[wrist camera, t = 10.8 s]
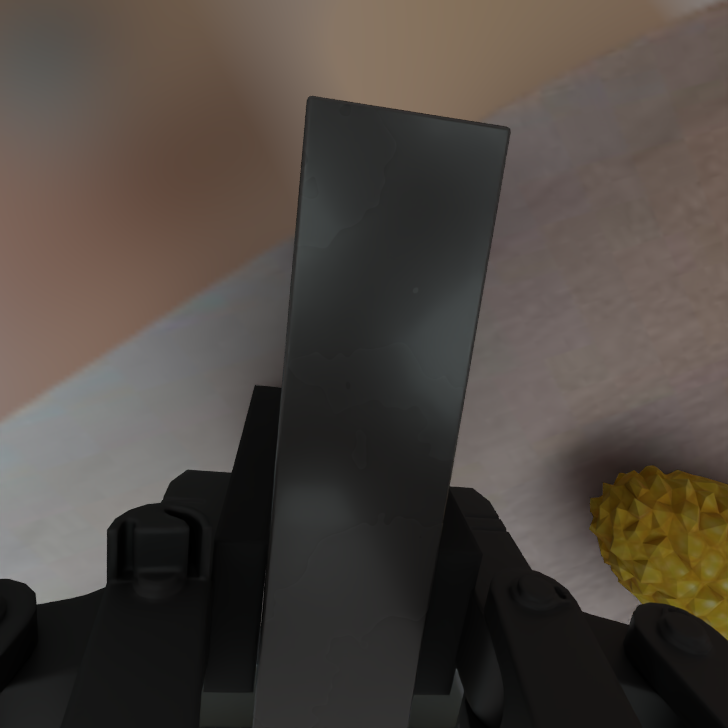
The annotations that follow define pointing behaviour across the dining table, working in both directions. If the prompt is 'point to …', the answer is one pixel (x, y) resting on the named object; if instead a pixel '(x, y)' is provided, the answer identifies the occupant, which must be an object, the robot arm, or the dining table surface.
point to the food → (667, 540)
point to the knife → (370, 404)
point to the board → (235, 710)
